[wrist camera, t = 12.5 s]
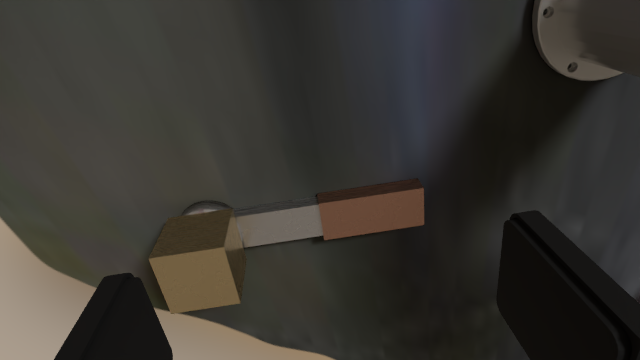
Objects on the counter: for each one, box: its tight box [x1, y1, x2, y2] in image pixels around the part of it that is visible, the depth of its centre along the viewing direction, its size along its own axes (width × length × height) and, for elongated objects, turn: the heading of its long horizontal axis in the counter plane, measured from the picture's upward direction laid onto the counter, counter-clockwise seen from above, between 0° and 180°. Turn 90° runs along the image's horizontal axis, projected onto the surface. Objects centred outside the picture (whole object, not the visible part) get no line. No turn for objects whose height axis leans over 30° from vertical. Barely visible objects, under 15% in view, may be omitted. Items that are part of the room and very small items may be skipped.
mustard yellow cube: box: [149, 208, 247, 314], centre depth 36 cm, size 6×6×6 cm
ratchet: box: [181, 178, 424, 248], centre depth 38 cm, size 24×6×6 cm, turn 97°
